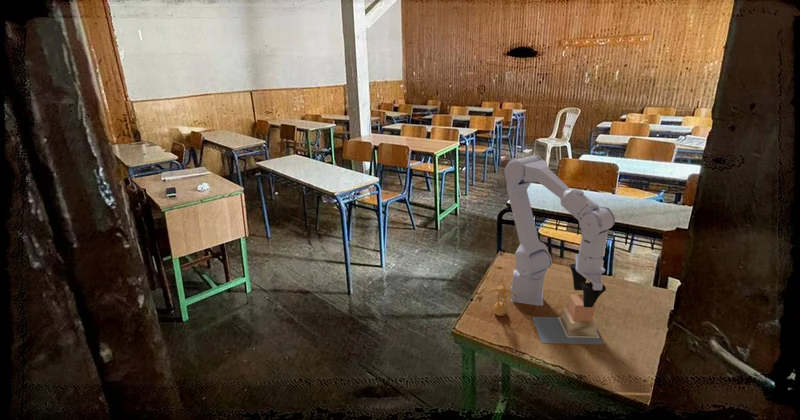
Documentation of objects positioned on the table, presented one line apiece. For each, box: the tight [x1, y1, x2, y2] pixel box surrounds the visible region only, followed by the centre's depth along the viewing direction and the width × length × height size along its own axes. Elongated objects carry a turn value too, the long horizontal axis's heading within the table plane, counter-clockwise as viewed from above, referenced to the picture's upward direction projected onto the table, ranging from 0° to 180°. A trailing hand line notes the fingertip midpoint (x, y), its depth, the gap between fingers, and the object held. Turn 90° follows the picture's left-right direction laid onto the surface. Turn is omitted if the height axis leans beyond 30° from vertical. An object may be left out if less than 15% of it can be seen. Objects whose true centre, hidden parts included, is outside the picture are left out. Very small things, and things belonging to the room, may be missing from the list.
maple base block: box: [561, 306, 599, 336], centre depth 114 cm, size 7×7×4 cm
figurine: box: [486, 282, 517, 317], centre depth 118 cm, size 8×6×12 cm
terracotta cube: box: [567, 293, 596, 321], centre depth 112 cm, size 5×5×5 cm
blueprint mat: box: [532, 316, 605, 345], centre depth 114 cm, size 16×11×1 cm
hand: (583, 297), depth 111 cm, fingers open, 7 cm apart
